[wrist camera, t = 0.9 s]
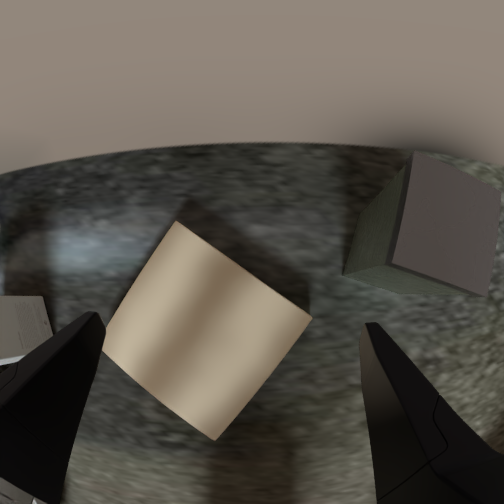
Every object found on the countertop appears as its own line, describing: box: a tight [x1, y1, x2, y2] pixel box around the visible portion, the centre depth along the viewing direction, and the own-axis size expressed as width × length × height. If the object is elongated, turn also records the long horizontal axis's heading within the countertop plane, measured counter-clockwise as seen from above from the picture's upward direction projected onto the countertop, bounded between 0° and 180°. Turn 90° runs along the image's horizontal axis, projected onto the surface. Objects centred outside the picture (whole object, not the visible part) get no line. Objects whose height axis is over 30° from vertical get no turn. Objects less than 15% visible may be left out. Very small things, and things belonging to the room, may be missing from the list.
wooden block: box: [102, 221, 312, 441], centre depth 23 cm, size 12×12×3 cm
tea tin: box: [342, 150, 501, 297], centre depth 17 cm, size 5×5×12 cm
